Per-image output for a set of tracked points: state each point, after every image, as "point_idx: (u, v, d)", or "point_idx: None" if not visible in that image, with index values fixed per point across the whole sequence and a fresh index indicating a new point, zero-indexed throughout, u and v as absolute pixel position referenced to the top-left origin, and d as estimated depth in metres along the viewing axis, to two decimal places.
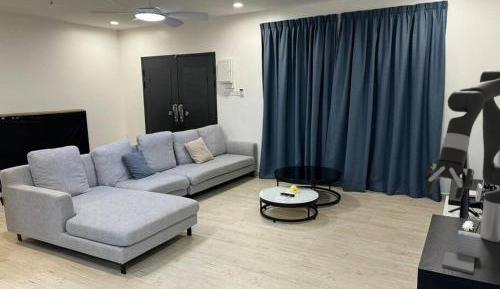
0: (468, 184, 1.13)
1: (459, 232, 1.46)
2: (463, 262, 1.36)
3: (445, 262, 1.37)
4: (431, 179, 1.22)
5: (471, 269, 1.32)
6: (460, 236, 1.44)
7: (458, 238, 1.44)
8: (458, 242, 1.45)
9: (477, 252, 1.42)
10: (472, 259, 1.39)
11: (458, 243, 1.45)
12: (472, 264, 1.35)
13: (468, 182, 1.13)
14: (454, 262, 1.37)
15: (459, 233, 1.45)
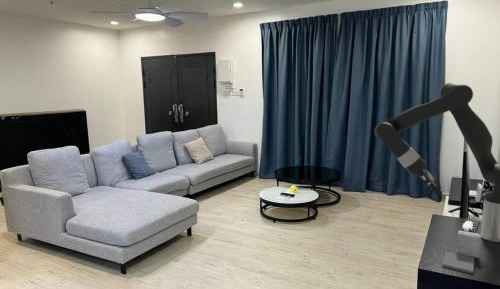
0: None
1: (459, 232, 1.46)
2: (463, 262, 1.36)
3: (445, 262, 1.37)
4: None
5: (471, 269, 1.32)
6: (460, 236, 1.44)
7: (458, 238, 1.44)
8: (458, 242, 1.45)
9: (477, 252, 1.42)
10: (472, 259, 1.39)
11: (458, 243, 1.45)
12: (472, 264, 1.35)
13: (427, 186, 1.41)
14: (454, 262, 1.37)
15: (459, 233, 1.45)
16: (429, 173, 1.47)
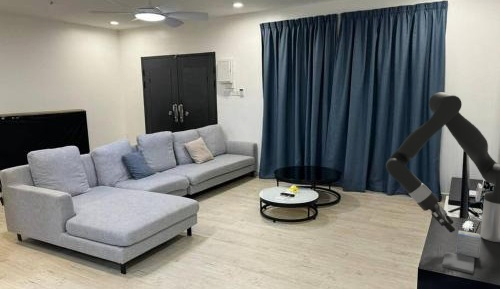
0: None
1: (459, 232, 1.46)
2: (463, 262, 1.36)
3: (445, 262, 1.37)
4: None
5: (471, 269, 1.32)
6: (460, 236, 1.44)
7: (458, 238, 1.44)
8: (458, 242, 1.45)
9: (477, 252, 1.42)
10: (472, 259, 1.39)
11: (458, 243, 1.45)
12: (472, 264, 1.35)
13: None
14: (454, 262, 1.37)
15: (459, 233, 1.45)
16: (441, 208, 1.48)
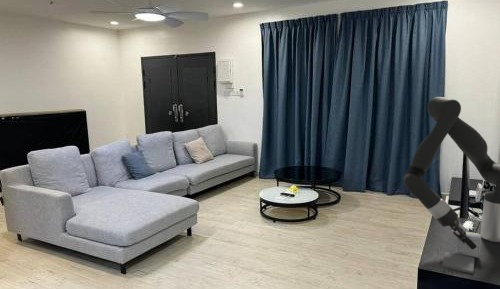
0: (462, 241, 1.41)
1: None
2: (463, 262, 1.36)
3: (445, 262, 1.37)
4: None
5: (471, 269, 1.32)
6: None
7: (458, 238, 1.44)
8: (458, 242, 1.45)
9: (477, 252, 1.42)
10: (472, 259, 1.39)
11: (458, 243, 1.45)
12: (472, 264, 1.35)
13: (461, 240, 1.41)
14: (454, 262, 1.37)
15: None
16: (460, 224, 1.46)
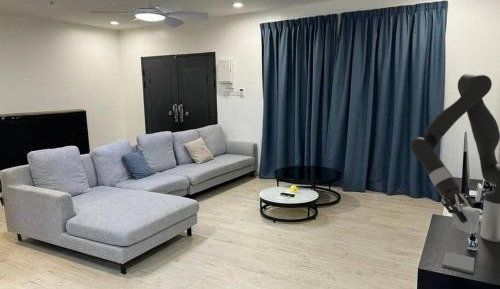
0: None
1: None
2: (463, 262, 1.36)
3: (445, 262, 1.37)
4: None
5: (471, 269, 1.32)
6: None
7: None
8: (453, 214, 1.38)
9: (468, 227, 1.32)
10: (472, 259, 1.39)
11: (453, 215, 1.38)
12: (472, 264, 1.35)
13: None
14: (454, 262, 1.37)
15: None
16: (461, 197, 1.37)
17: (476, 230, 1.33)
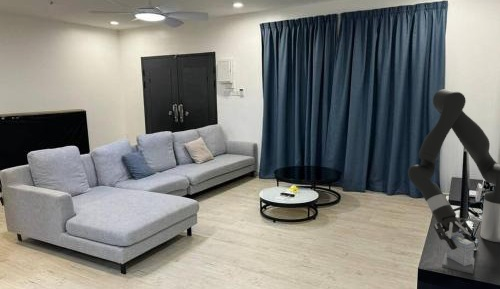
0: None
1: (453, 236, 1.40)
2: None
3: (445, 262, 1.37)
4: None
5: (471, 269, 1.32)
6: None
7: None
8: (448, 245, 1.40)
9: (463, 259, 1.34)
10: None
11: (448, 246, 1.40)
12: (472, 264, 1.35)
13: None
14: (454, 262, 1.37)
15: (451, 236, 1.39)
16: (457, 225, 1.39)
17: (471, 262, 1.35)
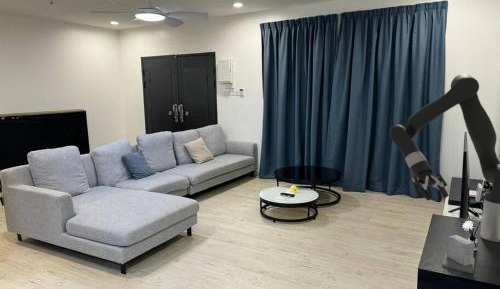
0: None
1: (453, 236, 1.40)
2: None
3: (445, 262, 1.37)
4: None
5: (471, 269, 1.32)
6: (449, 239, 1.39)
7: (448, 241, 1.40)
8: (448, 245, 1.40)
9: (463, 259, 1.34)
10: None
11: (448, 246, 1.40)
12: (472, 264, 1.35)
13: None
14: (454, 262, 1.37)
15: (451, 236, 1.39)
16: (433, 178, 1.48)
17: (471, 262, 1.35)
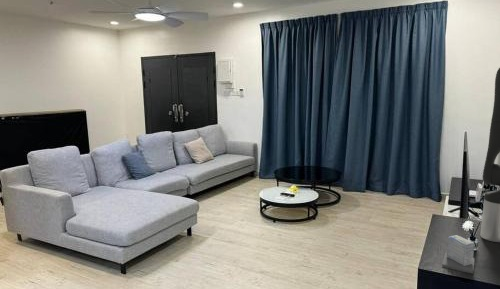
0: None
1: (453, 236, 1.40)
2: None
3: (445, 262, 1.37)
4: None
5: (471, 269, 1.32)
6: (449, 239, 1.39)
7: (448, 241, 1.40)
8: (448, 245, 1.40)
9: (463, 259, 1.34)
10: None
11: (448, 246, 1.40)
12: (472, 264, 1.35)
13: None
14: (454, 262, 1.37)
15: (451, 236, 1.39)
16: None
17: (471, 262, 1.35)
